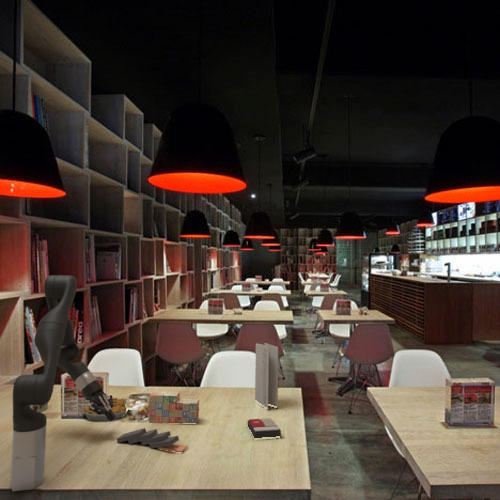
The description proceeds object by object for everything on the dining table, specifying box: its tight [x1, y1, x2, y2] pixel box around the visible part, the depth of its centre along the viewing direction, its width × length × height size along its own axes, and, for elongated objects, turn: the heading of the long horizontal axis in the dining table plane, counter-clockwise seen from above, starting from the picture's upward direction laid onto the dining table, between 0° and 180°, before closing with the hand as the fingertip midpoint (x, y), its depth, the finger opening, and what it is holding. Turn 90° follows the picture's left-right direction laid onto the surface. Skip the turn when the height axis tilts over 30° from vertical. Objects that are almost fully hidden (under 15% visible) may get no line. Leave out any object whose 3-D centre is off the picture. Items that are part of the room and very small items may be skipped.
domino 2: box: [127, 428, 159, 445], centre depth 157 cm, size 2×5×10 cm
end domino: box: [157, 442, 189, 453], centre depth 152 cm, size 2×5×10 cm
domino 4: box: [148, 435, 180, 449], centre depth 152 cm, size 2×5×10 cm
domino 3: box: [140, 430, 171, 446], centre depth 155 cm, size 2×5×10 cm
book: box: [246, 417, 282, 438], centre depth 169 cm, size 11×4×15 cm
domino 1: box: [116, 427, 147, 444], centre depth 158 cm, size 2×5×10 cm
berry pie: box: [82, 397, 126, 422], centre depth 188 cm, size 22×22×5 cm
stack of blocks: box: [148, 390, 200, 424], centre depth 180 cm, size 21×6×12 cm, turn 85°
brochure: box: [254, 342, 279, 409], centre depth 204 cm, size 14×6×30 cm, turn 25°
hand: (113, 419), depth 160 cm, fingers closed
